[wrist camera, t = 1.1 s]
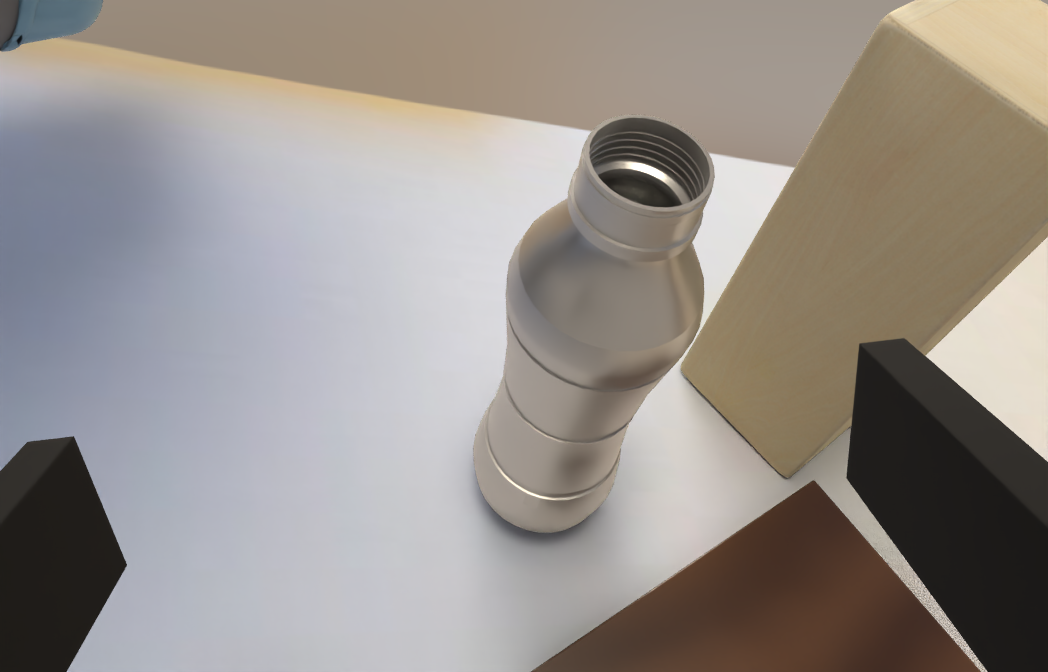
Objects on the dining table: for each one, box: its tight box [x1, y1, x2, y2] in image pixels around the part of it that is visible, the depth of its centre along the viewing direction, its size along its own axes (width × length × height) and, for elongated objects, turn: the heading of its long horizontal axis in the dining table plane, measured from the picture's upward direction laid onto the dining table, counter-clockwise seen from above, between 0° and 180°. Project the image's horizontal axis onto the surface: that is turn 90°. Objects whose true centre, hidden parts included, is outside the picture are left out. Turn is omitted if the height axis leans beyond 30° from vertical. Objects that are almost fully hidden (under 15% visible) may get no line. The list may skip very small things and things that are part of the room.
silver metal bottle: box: [473, 114, 715, 533], centre depth 29 cm, size 6×7×20 cm
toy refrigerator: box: [681, 0, 1048, 478], centre depth 33 cm, size 8×7×21 cm
